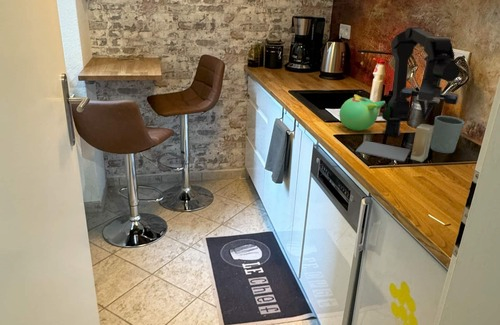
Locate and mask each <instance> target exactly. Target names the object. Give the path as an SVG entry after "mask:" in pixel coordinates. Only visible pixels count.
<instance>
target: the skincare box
mask: <svg viewBox="0 0 500 325" xmlns="http://www.w3.org/2000/svg"><path fill="white" fill-rule="evenodd" d="M433 128H434V125H432V124H431V125H430V124H427V123H426V124H425V123H421V124H419V125H418V126H417V127H416V129H415V134H414V139H413V145H412V150H411V154H410V160H412V161H416V162H417V161H418V162H421V163H423V162H424V161H425V160H426V159H427V158H428V156H429V152H430V148H431V140H432V135H433Z"/></svg>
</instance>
